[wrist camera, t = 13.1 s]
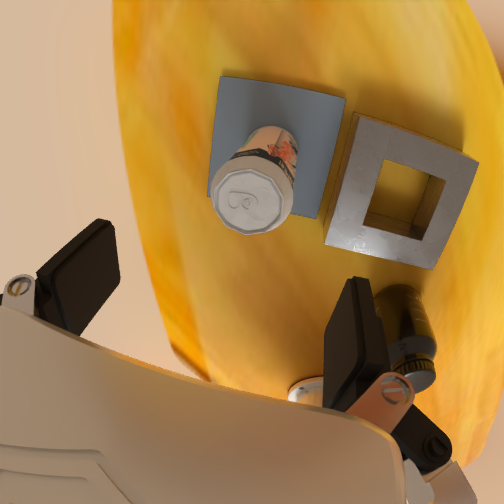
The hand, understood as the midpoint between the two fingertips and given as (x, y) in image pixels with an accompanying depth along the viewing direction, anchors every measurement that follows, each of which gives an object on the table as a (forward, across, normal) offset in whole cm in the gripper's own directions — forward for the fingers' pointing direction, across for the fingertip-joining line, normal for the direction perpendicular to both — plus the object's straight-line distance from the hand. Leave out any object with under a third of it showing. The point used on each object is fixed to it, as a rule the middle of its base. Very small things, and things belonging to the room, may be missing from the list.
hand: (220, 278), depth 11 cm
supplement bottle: (+20, -18, +14) cm, 30 cm away
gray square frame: (+19, -12, 0) cm, 23 cm away
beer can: (+18, 0, -1) cm, 18 cm away
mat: (+19, 0, -1) cm, 19 cm away
